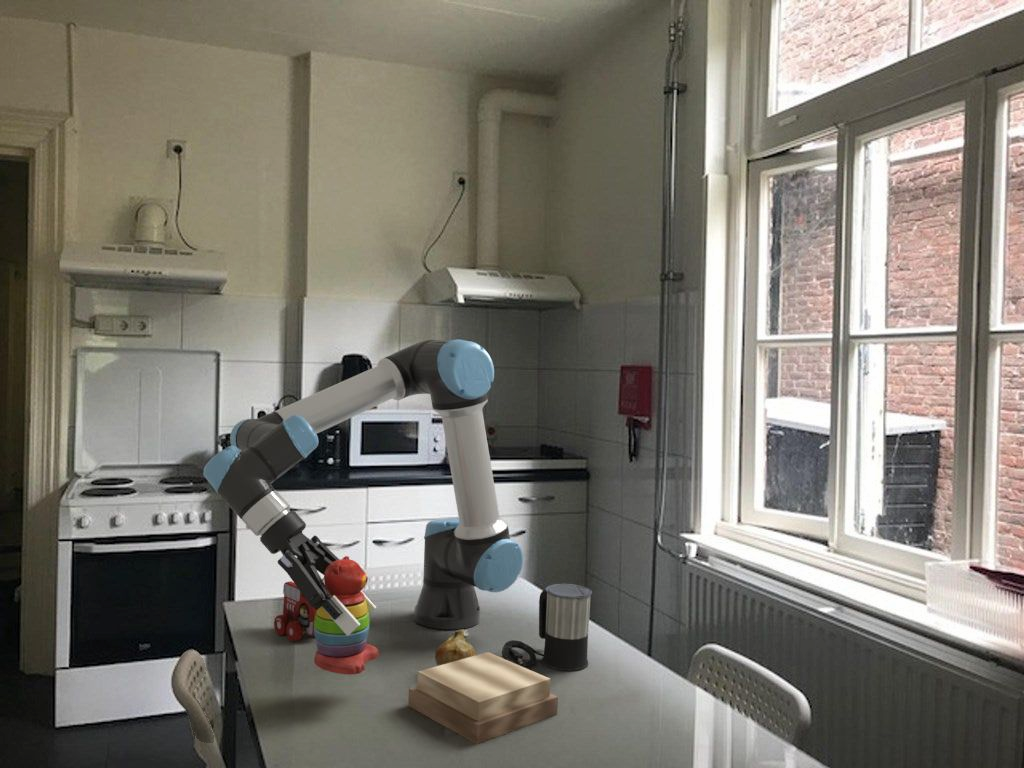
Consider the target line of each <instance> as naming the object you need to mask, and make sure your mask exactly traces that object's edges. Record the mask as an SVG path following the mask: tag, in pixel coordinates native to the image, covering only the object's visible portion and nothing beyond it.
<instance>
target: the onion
mask: <svg viewBox="0 0 1024 768" xmlns="http://www.w3.org/2000/svg"><path fill="white" fill-rule="evenodd" d="M469 636H470V632H469V631H468V629H467V630H466V629H465V628H462V629H457V630H456V631H455V632H454V633H452V636H450V637H448V638H447V639H446V640H445V641H443V642H442V643H441V644H440V645H439V646H438V647H437V649H436V650H435V651H434V652H435V653H434V662H435V664H436V665H437V666H440V665H443V664H447V663H450V662H454V661H458V660H461V659H465V658H468V657H472V656H476V655H477V652H476V650H475V648H474V647H473V646H472V644H471V643H470V642H469V641H468V640H467V639H466V638H469Z"/></svg>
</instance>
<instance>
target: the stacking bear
mask: <svg viewBox="0 0 1024 768" xmlns="http://www.w3.org/2000/svg"><path fill="white" fill-rule="evenodd" d="M339 559H340V558H339ZM323 578H324V579H323V582H324V584H325V586H326V588H327V589H328V591H329V593H330V595H331V598H332V597H333V596H334V595H335V596H336V597H337V598H338V599H339V601H340V602H341V603H342V604H343V605H344V606H345V607H346V608H347V610H348V611H349V612H350V613H351V614H352V615H353V616H354V617H355V619H356V620H357V621H358V622H359V623H360V625H359V626H358V627H357V628H356V629H355V630H354V631H353V632H352V633H351V634H349V635H348V636H347V635H346V634H345V633H344V632H343V630H342V629H341V628H340V627H339V626H338V625H337V624H336V623H335V621H334V620H333V619H332V618H331V617H330V616H329V615H328V614H327V612H326V611H325V610H324V609H323V608H322V606H321V607H320V608H319V609H318V610H317V611H316V615H315V620H314V634H315V636H314V638H315V644H316V649H317V651H316V653H315V655H314V659H313V662H314V664H315V666H316V667H318V668H319V669H321V670H324V671H326V672H330V673H335V674H340V675H349V676H350V675H354V676H355V675H357V674H361V673H362V672H364V671H365V669H366V667H365V664H366V663H368V662H370V661H374V660H376V659H377V658H378V657H379V650H378V648H377V647H376V646H373V645H372V644H368V643H367V641H368V636H369V632H370V622H371V621H370V614H369V613H368V609H367V604H366V600H365V596H364V594H365V593H364V592H363V589H365V588H366V585H367V583H368V580H369V578H368V575H367V573H366V572H365V570H364V569H363V568H362V567H361V566H360V564H359V563H358V562H357V561H356V560H353V559H350V557H349V556H348V555H347V556H344V557H342V559H340V560H336V561H334V562H332V563H331V564H329V565H328V567H327V568H326V570H325V573H324V575H323ZM361 591H362V592H363V593H364V594H363V593H362V592H361ZM331 598H330V599H331Z"/></svg>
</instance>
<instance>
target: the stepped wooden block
mask: <svg viewBox="0 0 1024 768" xmlns="http://www.w3.org/2000/svg"><path fill="white" fill-rule="evenodd" d="M416 681H417V682H416V686H412V687H409V688H408V701H407V703H408V704H407V706H408V707H410V708H411V709H413V710H415V711H416V710H417V712H418V713H420V714H422V715H424V716H425V717H427V718H429V719H431V720H433V721H434V722H436V723H438V724H440V725H442V726H444V727H445V728H447V729H449V730H450V731H452V732H453V733H456V734H458V735H459V736H461V737H463V738H464V739H466V740H469V741H471V742H472V743H474V744H476V745H478V744H479V745H480V744H481V743H484V742H486V741H490V740H492V739H495V738H498V737H500V736H503V735H505V734H508V733H511V732H514V731H517V730H519V729H521V728H524V727H528V726H530V725H532V724H535V723H538V722H540V721H543V720H546V719H548V718H551V717H553V716H556V715H558V705H559V696H557V695H555V694H553V693H551V678H550V677H547V676H545V675H543V674H540V673H538V672H536V671H534V670H530V669H529V668H524V667H522V666H519V665H517V664H515V663H512V662H510V661H508V660H505V659H504V658H503V657H501V656H498V655H497V654H496V655H495V654H493V653H491V652H488V651H487V652H483V653H480V654H479V653H478V654H476V656H472V657H468V658H465V659H461V660H458V661H454V662H450V663H447V664H443V665H440V666H438V665H437V666H433V667H429V668H426V669H422V670H419V671H418V670H417V680H416Z"/></svg>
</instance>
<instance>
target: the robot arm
mask: <svg viewBox="0 0 1024 768" xmlns="http://www.w3.org/2000/svg"><path fill="white" fill-rule="evenodd" d="M376 365H377V366H374V367H372V368H370V369H368V370H365V371H363V372H361V373H358V374H357V375H354V376H352V377H349V378H347V379H344V380H343V381H340V382H339V383H336V384H334V385H331V386H329V387H327V388H324V389H322V390H319V391H318V392H316V393H313V394H311V395H309V396H306V397H304V398H301V399H299V400H297V401H294V402H293V403H290V404H288V405H285V406H284V407H281V408H279V409H277V410H275V411H272V412H269V413H267V414H265V415H262V416H260V417H258V418H248V419H247V418H246V419H243V420H240V421H238V422H236V424H235V425H234V426H233V428H232V430H231V432H230V437H229V442H230V446H229V445H228V446H227V447H225V448H224V449H222V450H220V451H219V452H218V453H216V454H215V455H214V456H212V457H211V459H209V461H208V462H207V463H206V464H205V466H204V468H203V473H202V475H203V477H204V478H205V479H206V480H207V482H208V483H209V484H210V486H211V487H212V488H213V490H214V491H215V493H216V494H217V495H219V496H220V498H221V499H222V500H223V501H224V502H225V503H226V504H227V505H228V506H229V508H230V509H231V510H232V511H233V512H234V513H235V514H236V515H237V516H238V517H239V519H241V521H242V522H243V523H244V524H245V528H246V529H247V530H250V531H251V532H252V533H253V535H255V536H258V537H259V536H260V538H259V541H260V543H261V544H262V545H263V546H264V547H265V548H266V549H267V551H268V552H269V553H270V554H271V555H275V554H277V553H279V552H280V553H281V554H282V556H281V557H280V558H279V559H278V560H277V561H276V562H277V565H279V566H280V568H282V569H283V570H284V571H285V572H286V574H287V575H288V576H289V578H290V579H291V581H292V582H294V583H295V585H296V586H297V587H298V589H299V590H300V592H301V593H302V594H303V596H304V597H305V598H306V600H307V601H308V603H309V604H310V605H311V606H312V607H313V608H314V609H315V610H318V609H319V608H320V607H321V606H322V608H323V609H324V610H325V611H326V612H327V614H328V615H329V616H330V617H331V618H332V619H333V620H334V621H335V623H336V624H337V625H338V626H339V627H340V628H341V629H342V630H343V632H344V633H345V634H346V635H347V636H348V635H349V634H351V633H352V632H353V631H354V630H355V629H356V628H357V627H358V626H359V625H360V623H359V622H358V621H357V620H356V619H355V617H354V616H353V615H352V614H351V613H350V612H349V611H348V610H347V608H346V607H345V606H344V605H343V604H342V603H341V602H340V601H339V599H338V598H337V597H336V596H335V595H334V596H333V597H332V598H331V595H330V593H329V591H328V589H327V588H326V586H325V582H324V580H323V578H322V577H321V575H320V574H322V575H323V576H324V573H325V570H326V568H327V567H328V565H329V564H331V563H332V562H334V561H336V560H340V558H339V557H338V556H336V554H334V553H333V552H332V551H331V550H330V549H329V548H328V547H327V546H326V545H325V544H324V543H323V542H322V541H321V539H320V538H319V537H318V536H317V535H313V536H312V537H311V538H309V537H307V536H306V535H305V534H304V533H303V531H304V530H305V529H306V527H307V524H306V521H304V520H303V518H302V517H301V516H300V515H299V514H298V513H297V512H296V511H295V510H294V511H293V510H291V505H290V504H289V502H287V501H286V499H285V498H284V497H283V496H282V495H281V494H280V493H279V491H277V490H276V489H275V488H274V486H273V485H272V484H273V483H274V482H276V481H277V480H278V479H279V478H280V477H282V476H283V475H285V473H287V472H288V471H290V470H291V469H292V468H293V467H295V465H297V464H298V463H300V462H302V460H305V459H306V458H308V456H309V455H310V454H311V453H312V452H313V451H315V450H316V449H317V447H318V446H319V436H318V435H317V434H319V433H321V432H324V431H325V430H328V429H331V428H332V427H335V426H336V425H338V424H340V423H343V422H345V421H347V420H349V419H352V418H353V417H355V416H358V415H359V414H360V415H361V414H362V413H364V412H366V411H368V410H371V409H372V408H373V409H374V408H375V407H377V406H379V405H381V404H383V403H385V402H388V401H389V400H394V401H401V400H403V399H405V398H408V397H411V396H415V395H416V396H417V395H423V394H424V395H429V396H430V402H431V406H432V410H433V411H434V412H435V413H437V414H438V415H439V416H440V417H441V421H442V425H443V432H444V439H445V444H446V450H447V455H448V456H447V458H448V462H449V468H450V474H451V479H452V485H453V492H454V498H455V502H456V509H457V516H458V517H455V518H454V517H453V518H440V519H439V518H438V519H433V520H430V521H428V522H427V524H426V526H425V530H424V531H425V532H424V536H423V539H424V554H423V555H424V556H423V577H422V578H423V581H422V583H423V584H422V588H421V590H420V593H419V597H418V600H417V604H416V605H415V606H414V612H413V614H414V615H413V620H414V622H415V623H417V624H419V625H420V626H423V627H426V628H431V629H436V630H437V629H438V630H463V629H467V628H471V627H474V626H476V625H478V624H479V623H480V622H481V612H482V611H481V607H480V605H479V600H478V597H477V592H476V590H475V588H477V589H478V590H481V591H486V592H489V593H493V594H494V593H500V592H503V591H506V590H507V589H509V588H510V587H511V586H513V584H514V583H515V582H516V581H517V579H518V576H519V575H520V574H521V572H522V569H523V565H524V552H523V549H522V547H521V546H520V544H519V543H517V542H516V541H515V540H514V539H511V535H510V530H509V525H508V521H507V520H506V519H504V518H502V517H501V516H500V511H499V506H498V499H497V494H496V487H495V482H494V476H493V469H492V461H491V456H490V451H489V445H488V440H487V439H488V438H487V431H486V426H485V419H484V413H483V409H484V406H485V405H486V404H487V403H488V401H489V399H488V392H489V391H490V389H491V387H492V385H491V384H492V383H493V382H494V379H495V367H494V363H493V359H492V358H491V356H490V354H489V353H488V352H487V351H486V349H485V348H484V347H482V346H481V345H480V344H478V343H476V342H474V341H470V340H469V341H468V340H464V339H459V338H458V339H426V340H423V341H419V342H416V343H413V344H412V345H409V346H406V347H404V348H402V349H400V350H398V351H396V352H394V353H392V354H390V355H387V356H384V357H383V358H381V359H379V361H378V362H377V364H376ZM319 573H320V574H319ZM361 592H362V593H363V594H364V596H365V600H366V604H367V609H368V613H369V615H370V614H371V613H372V612H373V611H374V610H375V609H376V608H377V606H376V605H375V604H374V603H373V602H372V601H371V600H370V598H369V597H368V596H367V595H366V594H365V593H364V592H363V590H361ZM312 597H313V598H312ZM330 598H331V599H330Z"/></svg>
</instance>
